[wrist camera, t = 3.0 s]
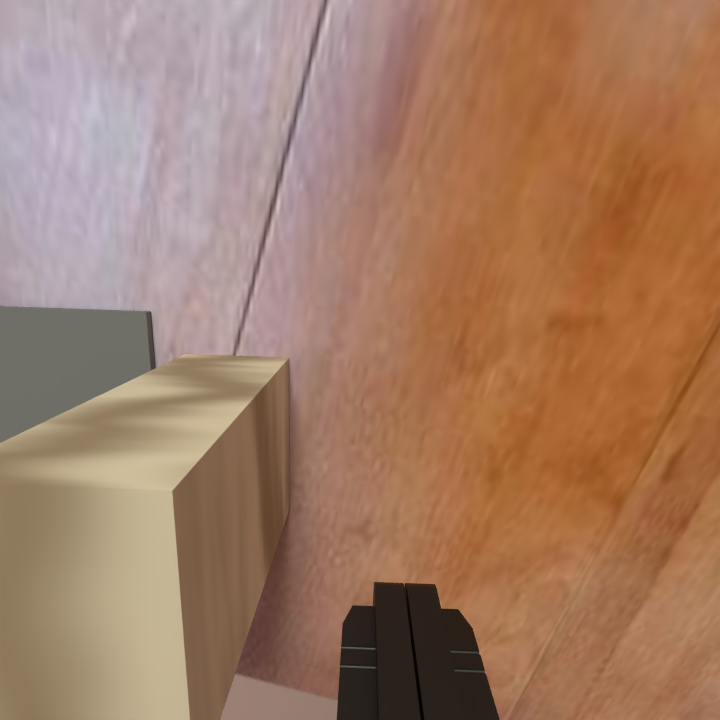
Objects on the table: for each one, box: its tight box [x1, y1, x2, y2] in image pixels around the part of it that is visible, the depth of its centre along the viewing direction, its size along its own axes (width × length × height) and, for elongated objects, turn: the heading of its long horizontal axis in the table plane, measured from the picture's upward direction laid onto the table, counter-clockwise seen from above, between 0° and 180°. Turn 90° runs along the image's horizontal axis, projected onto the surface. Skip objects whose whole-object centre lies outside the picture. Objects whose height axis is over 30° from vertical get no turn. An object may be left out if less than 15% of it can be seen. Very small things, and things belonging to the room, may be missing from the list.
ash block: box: [0, 354, 290, 720], centre depth 15 cm, size 5×8×12 cm, turn 178°
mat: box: [0, 306, 155, 443], centre depth 21 cm, size 14×12×1 cm
